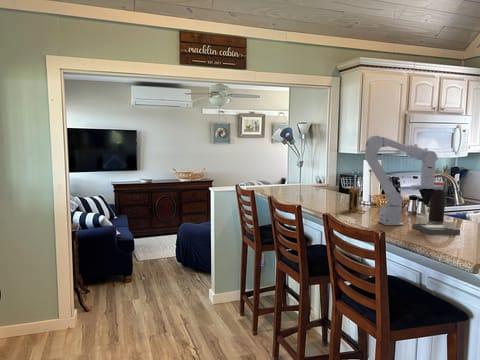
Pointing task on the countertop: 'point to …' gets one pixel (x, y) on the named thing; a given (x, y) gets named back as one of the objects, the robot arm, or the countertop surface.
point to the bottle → (437, 204)
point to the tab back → (422, 219)
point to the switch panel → (435, 228)
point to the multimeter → (354, 198)
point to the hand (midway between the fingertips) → (426, 204)
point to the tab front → (448, 224)
